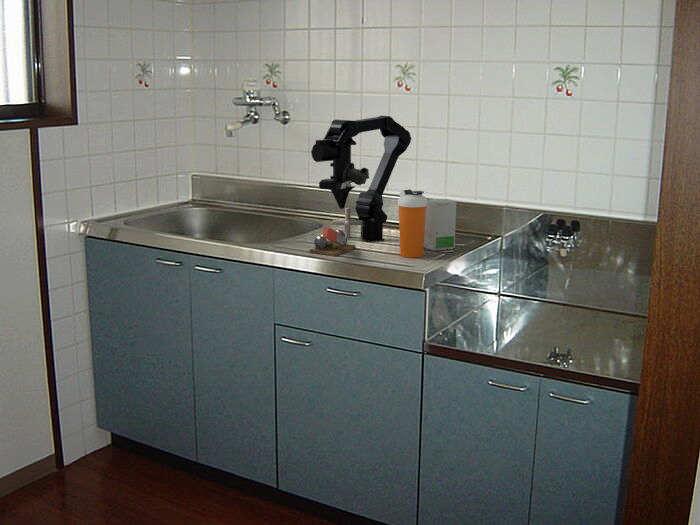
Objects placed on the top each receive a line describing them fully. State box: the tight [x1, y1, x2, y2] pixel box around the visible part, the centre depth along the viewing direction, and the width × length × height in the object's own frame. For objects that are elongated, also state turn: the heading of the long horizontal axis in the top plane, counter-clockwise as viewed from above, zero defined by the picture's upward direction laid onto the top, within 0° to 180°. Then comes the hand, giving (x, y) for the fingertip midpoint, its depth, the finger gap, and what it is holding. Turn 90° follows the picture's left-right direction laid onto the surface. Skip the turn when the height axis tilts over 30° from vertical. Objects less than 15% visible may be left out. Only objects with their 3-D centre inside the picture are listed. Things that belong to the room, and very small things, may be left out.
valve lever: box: [322, 226, 348, 245], centre depth 257 cm, size 3×2×13 cm
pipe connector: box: [332, 207, 362, 239], centre depth 284 cm, size 10×10×10 cm
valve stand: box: [308, 229, 356, 257], centre depth 264 cm, size 13×9×6 cm
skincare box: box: [424, 198, 457, 251], centre depth 267 cm, size 8×7×16 cm
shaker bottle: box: [397, 188, 427, 259], centre depth 256 cm, size 9×9×20 cm
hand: (341, 208), depth 270 cm, fingers closed
